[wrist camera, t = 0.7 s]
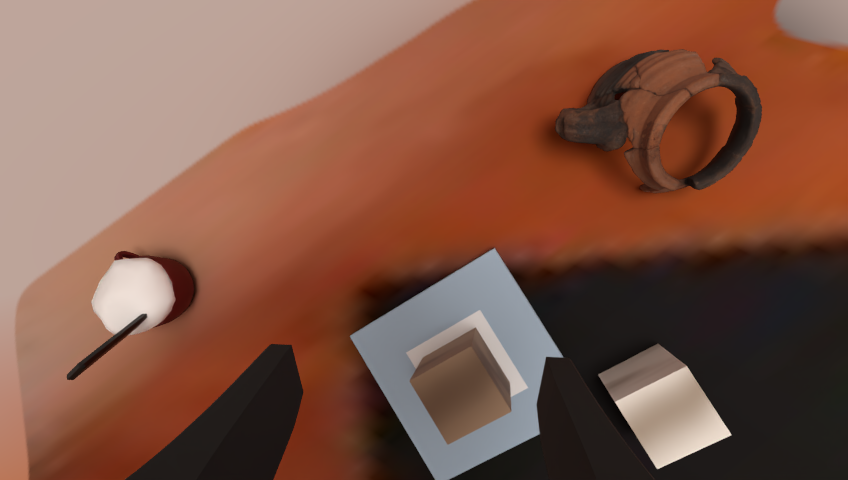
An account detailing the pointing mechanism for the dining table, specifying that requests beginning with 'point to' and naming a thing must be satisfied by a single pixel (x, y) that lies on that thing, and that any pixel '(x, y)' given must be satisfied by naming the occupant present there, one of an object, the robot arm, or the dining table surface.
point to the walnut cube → (462, 386)
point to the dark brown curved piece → (660, 114)
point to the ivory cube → (663, 405)
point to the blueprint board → (442, 323)
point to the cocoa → (137, 299)
